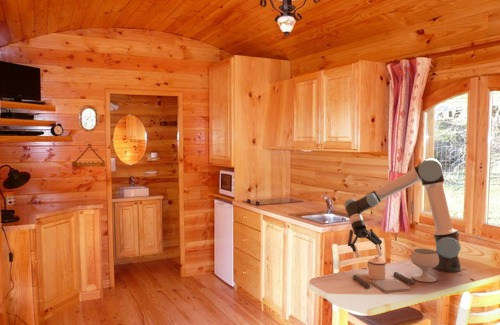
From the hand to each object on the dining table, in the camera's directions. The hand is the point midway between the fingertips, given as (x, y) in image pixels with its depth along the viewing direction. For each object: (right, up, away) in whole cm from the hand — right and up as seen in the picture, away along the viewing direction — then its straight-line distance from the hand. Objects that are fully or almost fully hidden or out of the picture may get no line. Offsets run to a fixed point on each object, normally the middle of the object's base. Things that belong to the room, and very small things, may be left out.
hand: (369, 256), depth 227 cm
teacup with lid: (+2, -11, -4) cm, 11 cm away
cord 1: (-8, -11, -13) cm, 19 cm away
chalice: (+27, -11, -7) cm, 30 cm away
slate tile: (+5, -11, -18) cm, 22 cm away
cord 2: (+15, -11, -8) cm, 20 cm away
